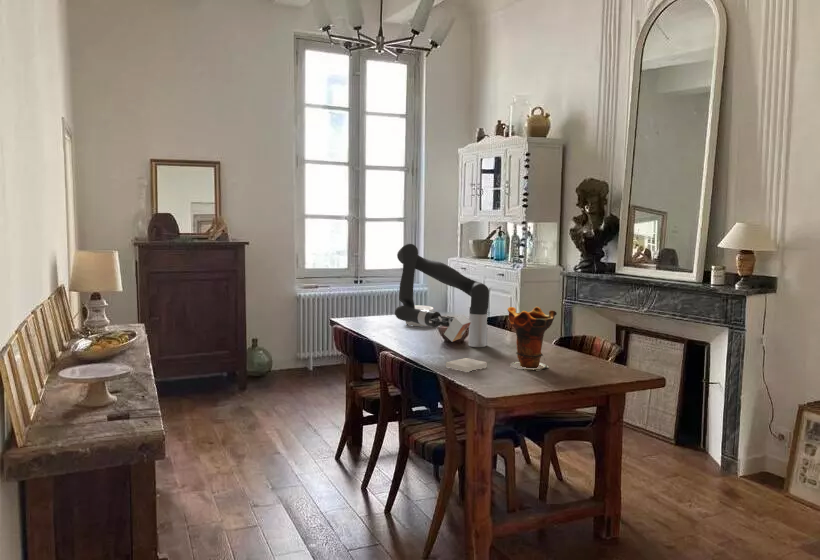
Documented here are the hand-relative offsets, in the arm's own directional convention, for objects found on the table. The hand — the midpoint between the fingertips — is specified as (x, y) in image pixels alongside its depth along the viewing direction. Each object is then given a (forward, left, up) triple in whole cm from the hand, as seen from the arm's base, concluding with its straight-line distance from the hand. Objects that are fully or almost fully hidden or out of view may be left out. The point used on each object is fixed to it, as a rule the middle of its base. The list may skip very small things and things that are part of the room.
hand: (455, 323), depth 302 cm
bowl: (-61, -81, -19) cm, 103 cm away
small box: (0, -2, -7) cm, 7 cm away
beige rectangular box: (+3, +10, -19) cm, 21 cm away
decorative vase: (-21, +27, -19) cm, 39 cm away
